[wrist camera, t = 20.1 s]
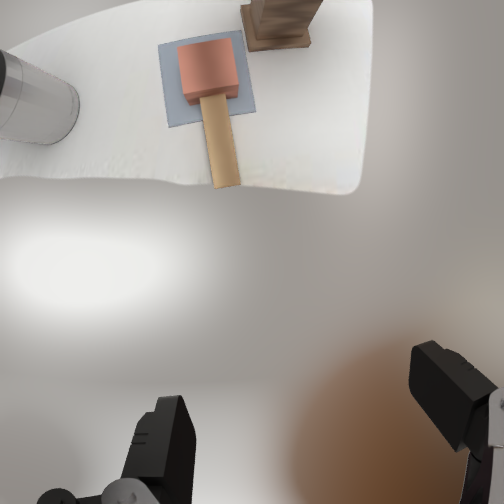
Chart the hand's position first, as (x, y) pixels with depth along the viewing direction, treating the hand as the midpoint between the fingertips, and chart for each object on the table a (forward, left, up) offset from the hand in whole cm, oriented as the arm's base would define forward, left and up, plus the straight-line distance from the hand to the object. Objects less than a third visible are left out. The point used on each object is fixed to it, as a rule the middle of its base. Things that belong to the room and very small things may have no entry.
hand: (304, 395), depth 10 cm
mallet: (-2, +15, -32) cm, 35 cm away
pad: (-2, +21, -32) cm, 38 cm away
